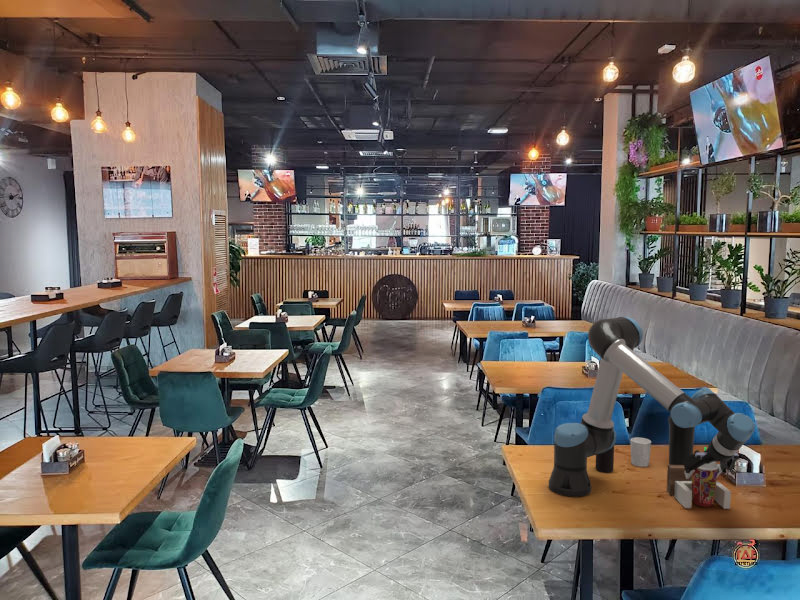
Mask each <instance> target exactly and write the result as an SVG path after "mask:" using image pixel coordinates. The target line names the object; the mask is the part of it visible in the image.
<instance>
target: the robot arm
mask: <svg viewBox="0 0 800 600" xmlns="http://www.w3.org/2000/svg"><path fill="white" fill-rule="evenodd" d="M643 333H644V332H643V329H642V327H641V325H640V323H638V321H637V320H635V319H634V318H631V317H628V316H619V317H611V318H602V319H599V320H597V321H595V322H594V323H593V324H592V325H591V326H590V328H589V330H588V333H587V338H588V344H589V345H590V347H591V349H592V350H593V351H594V353H595V354H597V356H598V357H600V361H599V365H598V370H597V373H596V378H595V381H594V386H593V389H592V394H591V397H590V402H589V406H588V410H587V412H586V413H584V414H583V415H582V417H581V421H580V423H579V422H566V423H562V424H560V425H557V427H556V428H555V429H554V430H555V431H554V436H553V450H554V451H553V453H554V454H553V469H552V471H551V474H550V478H549V479H548V489H549V490H550V491H551V492H553V493H554V494H558V495H560V496H564V497H570V498H571V497H573V498H575V497H576V498H577V497H585V496H587V495H588V496H589V495H590V493H592V483H591V480H590V476H589V473H588V469H587V468H588V467H587V466H588V465H587V464H588V458H589V457H594V456H596V455H597V454H600V453H603V452H606V451H607V450H609V449H611V448H612V447H613V446H614V447H615V444H616V441H617V432H616V431H615V429H616V428H615V426H614V425H615V423H614V421H613V420H612V417H613V413H614V409H615V406H616V405H615V404H616V401H617V398H618V393H619V390H620V387H621V386H620V385H621V381H622V378H623V374H624V375H626V376H627V377H628V378H629V379H630V380H632V381H633V382H634V384H635V383H636V385H638V386H639V387H640V388H641V389H642V390H643V391H645V392H646V393H647V394H648V395H649V396H651V397H652V398H653V399H654V400H656V401H657V402H658V403H659V404H660V405H661V406H662V407H664V408H665V409H666V410H667V411H668V412H669V413H670V415H671V418H672V420H673V422H674V423H675V424H676V425H677V426H679V427H682V428H689V427H695V428H696V427H697V426H698V425H702V424H704V423H707V422H708V423H710V424H711V426H712V427H714V429H716V431H717V433H716V434H715V435H714V437H713V438H712V439H711V441H710V442H709V443H708V446H707V448H706V450H705V451H704V450H703V451H701V452H700V451H699V450H698V449H697V450H695V451H693V455H691V456H690V457H689V458H688V459H687V460H685V461H684V462H683V464H684V468H685V471H684V473H685V476H686V479H689V478H690V477H691V475H692V474H693V473H694V472H695V470H694V469H696V468H698V467H700V466H702V465H704V464H709V463H711V462H716V464H717V466H718V472H717V478H718V477H719V476H720V475H721V474H726V473H727V470H728V471H733V469H734V467H735V464H736V462H737V461H738V460H739V459H740V455H739V454H738V451H739V450H740V449H741V448H742V446H743V445H745V444H746V442H748V440H750V438H751V437H752V435H753V433H754V432H755V429H756V427H755V423H754V420H753V419H752V418H751V417H750V416H749V415H746V414H744V413H741V412H736V413H735V412H734V411H733V410H732V409H731V408H730V407H729V405H727V404H726V403H725V402H724V401H723V400H722V399H721V398H720V396H718V394H717V393H715V392H714V391H713V390H711V388H709V387H702V388H700V389H699V390H697V391H696V392H695V393H694V394H693V395H692V396H691V397H690V396H689V395H688V394H686V392H684V391H683V390H682V389H680V387H678V386H677V385H676V384H674V383H673V382H672V381H671V380H669V379H668V378H667V377H666V376H664V375H663V374H662V373H661V372H659V371H658V370H657V369H656V368H655V367H653V366H652V365H651V364H650V363H649V362H648V361H646V360H645V359H643V358H642V357H641V356H640V355H639V354H638V353H636V352H635V351H634V350H635V348H637V347H639V346H640V345H641V343H642V342H643V339H644V337H643V336H644V334H643Z"/></svg>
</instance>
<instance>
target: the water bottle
mask: <svg viewBox="0 0 800 600" xmlns="http://www.w3.org/2000/svg"><path fill="white" fill-rule="evenodd" d="M667 419H668V420H667V422H668V424H669V425H668V428H669V430H668V465H684V464H683V462H684V461H685V460H687V459H688V458H689V457H690V456H691V455H693V454H694V444H695V443H694V442H695V433H696V432H695V430H696V426H695V427H689V428H682V427H679V426H677V425H676V424H675V423H674V422H673V420H672V418H671V414H670V415H669V416H668V418H667Z"/></svg>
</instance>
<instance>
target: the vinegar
mask: <svg viewBox="0 0 800 600" xmlns="http://www.w3.org/2000/svg"><path fill="white" fill-rule="evenodd" d="M614 452H615V445H614V446H613V447H612V448H611V449H609V450H607V451H606V452H603V453H600V454H597V455H595V470H596V471H597V472H600V473H605V474H609V473H612V472H614V461H615V460H614V459H615V453H614Z"/></svg>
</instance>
